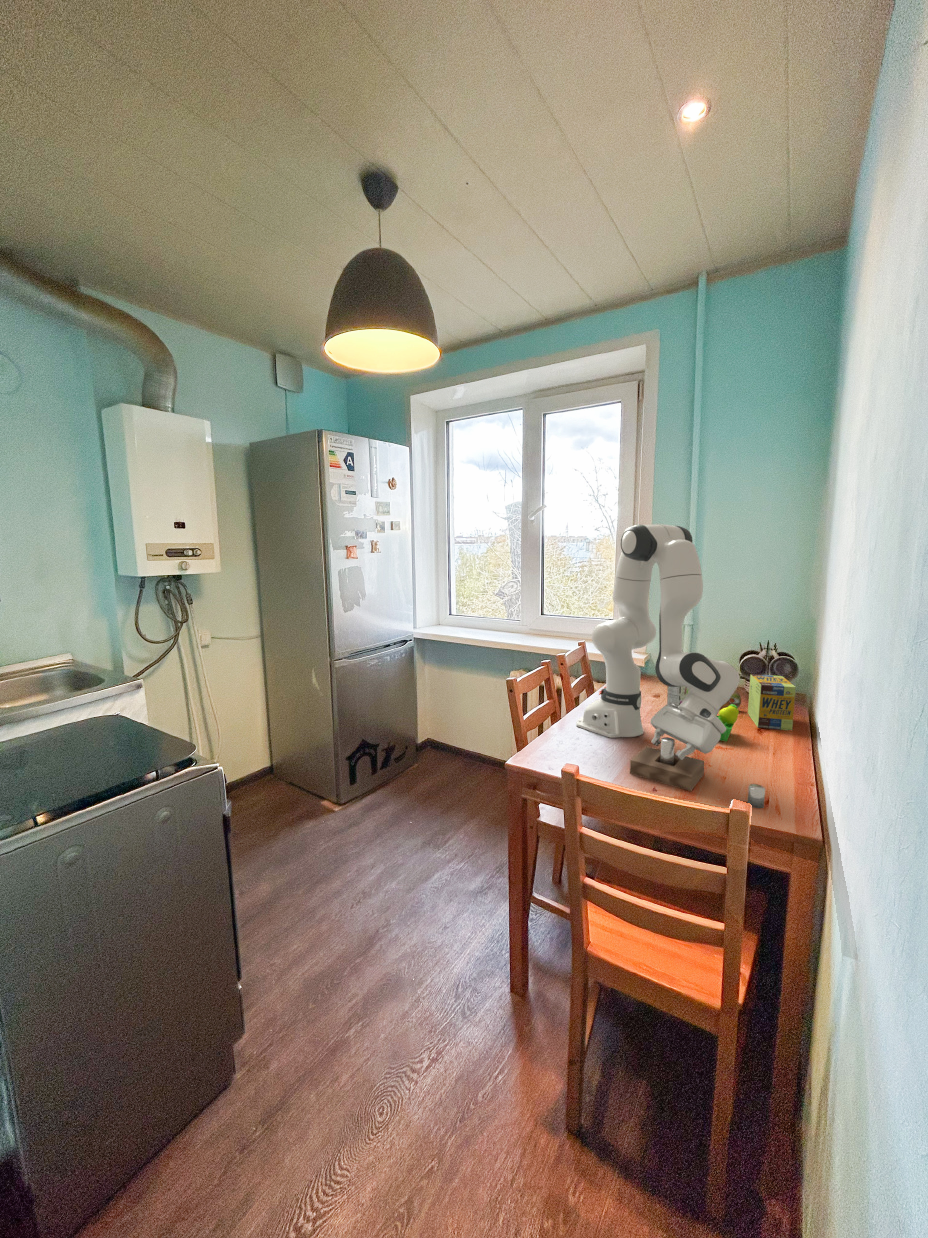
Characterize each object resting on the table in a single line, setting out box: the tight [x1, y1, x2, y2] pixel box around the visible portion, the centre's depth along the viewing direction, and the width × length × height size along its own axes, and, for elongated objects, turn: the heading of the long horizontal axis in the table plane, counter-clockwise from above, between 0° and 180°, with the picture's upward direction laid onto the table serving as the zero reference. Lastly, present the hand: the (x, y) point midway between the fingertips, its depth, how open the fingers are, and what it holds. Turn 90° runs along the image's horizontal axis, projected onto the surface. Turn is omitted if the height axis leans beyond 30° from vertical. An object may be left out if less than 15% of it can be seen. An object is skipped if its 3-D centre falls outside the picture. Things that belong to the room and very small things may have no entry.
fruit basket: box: [716, 704, 740, 742], centre depth 158 cm, size 11×9×11 cm
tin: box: [720, 690, 742, 709], centre depth 186 cm, size 15×3×8 cm, turn 56°
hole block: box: [629, 745, 705, 792], centre depth 132 cm, size 16×12×4 cm
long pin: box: [660, 736, 676, 766], centre depth 132 cm, size 3×3×10 cm
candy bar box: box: [666, 686, 690, 705], centre depth 179 cm, size 11×5×16 cm, turn 138°
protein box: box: [747, 673, 797, 731], centre depth 170 cm, size 10×15×16 cm
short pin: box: [747, 783, 766, 810], centre depth 116 cm, size 3×3×4 cm
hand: (665, 750), depth 132 cm, fingers open, 8 cm apart
